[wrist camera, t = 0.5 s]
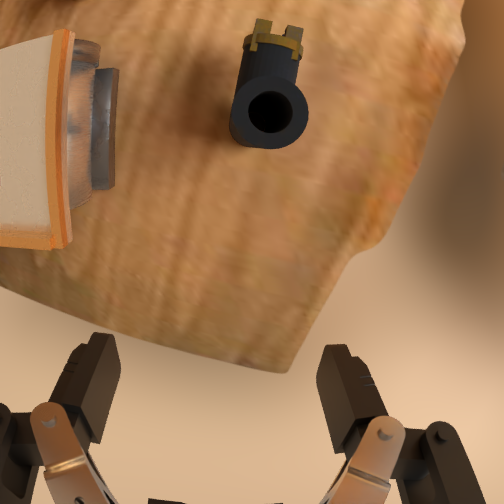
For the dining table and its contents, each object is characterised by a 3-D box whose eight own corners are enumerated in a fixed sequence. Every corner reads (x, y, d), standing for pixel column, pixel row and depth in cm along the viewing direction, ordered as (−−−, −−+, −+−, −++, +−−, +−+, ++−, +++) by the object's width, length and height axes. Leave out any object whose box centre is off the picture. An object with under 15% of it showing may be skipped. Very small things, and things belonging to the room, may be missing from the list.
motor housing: (37, 66, 27) (-38, 59, 14) (121, 53, 29) (61, 27, 15) (37, 200, 35) (-31, 243, 22) (115, 201, 36) (60, 251, 23)
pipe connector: (243, 47, 30) (255, -11, 16) (289, 56, 31) (329, 7, 17) (224, 143, 34) (222, 141, 19) (271, 151, 34) (303, 156, 20)
